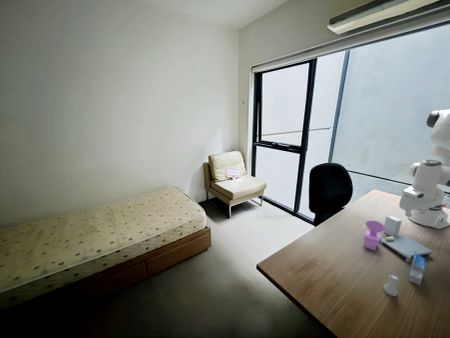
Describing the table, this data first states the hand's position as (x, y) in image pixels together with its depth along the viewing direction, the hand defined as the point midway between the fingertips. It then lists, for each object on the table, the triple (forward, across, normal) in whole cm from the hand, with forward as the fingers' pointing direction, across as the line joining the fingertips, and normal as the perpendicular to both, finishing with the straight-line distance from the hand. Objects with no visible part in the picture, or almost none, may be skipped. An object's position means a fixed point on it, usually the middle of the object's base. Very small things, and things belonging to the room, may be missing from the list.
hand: (415, 215), depth 100 cm
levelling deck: (+16, +14, +3) cm, 21 cm away
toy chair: (+19, +21, -3) cm, 28 cm away
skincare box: (+20, 0, -9) cm, 21 cm away
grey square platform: (+19, +6, +3) cm, 20 cm away
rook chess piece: (+19, +38, +22) cm, 48 cm away
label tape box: (+19, +20, +18) cm, 33 cm away
